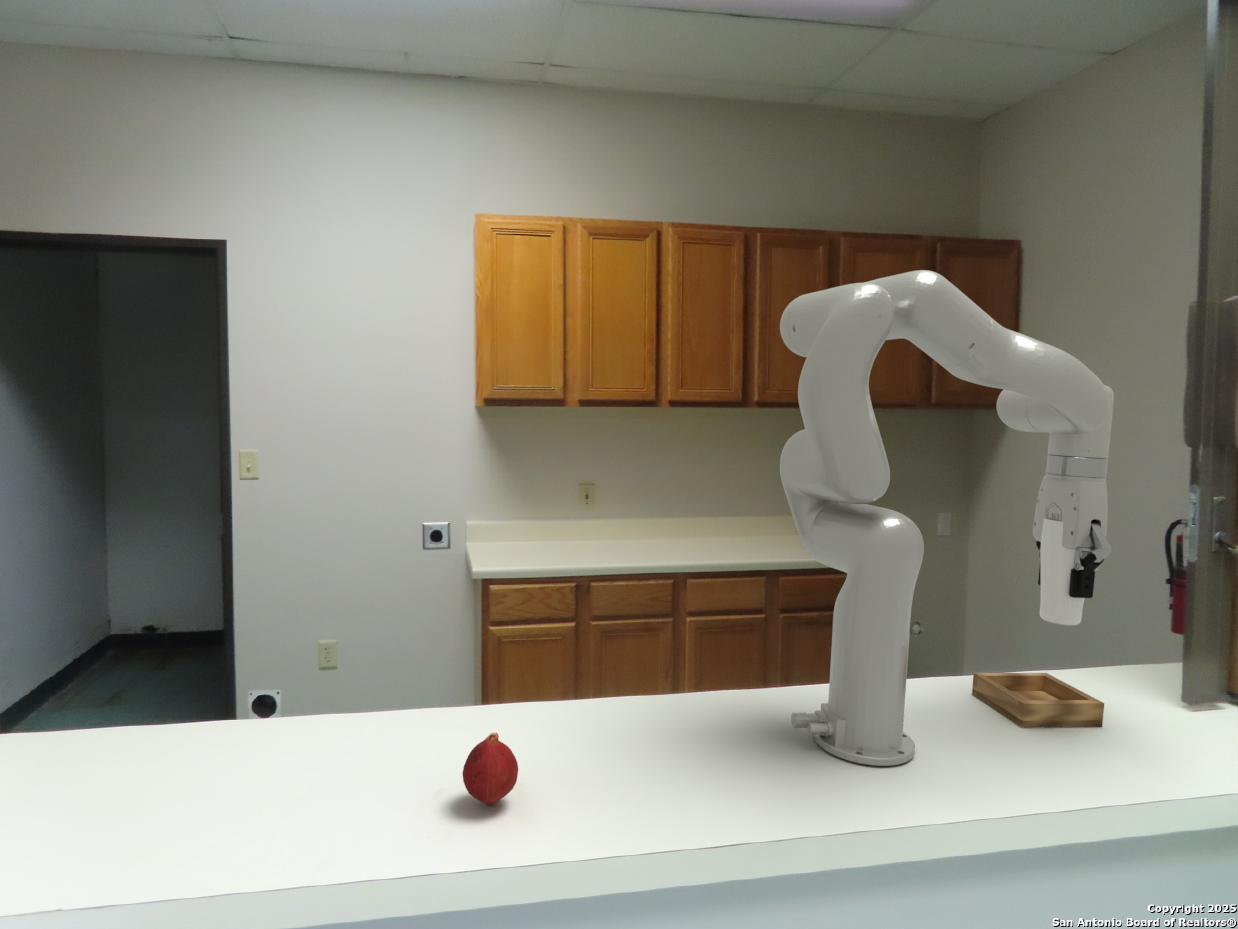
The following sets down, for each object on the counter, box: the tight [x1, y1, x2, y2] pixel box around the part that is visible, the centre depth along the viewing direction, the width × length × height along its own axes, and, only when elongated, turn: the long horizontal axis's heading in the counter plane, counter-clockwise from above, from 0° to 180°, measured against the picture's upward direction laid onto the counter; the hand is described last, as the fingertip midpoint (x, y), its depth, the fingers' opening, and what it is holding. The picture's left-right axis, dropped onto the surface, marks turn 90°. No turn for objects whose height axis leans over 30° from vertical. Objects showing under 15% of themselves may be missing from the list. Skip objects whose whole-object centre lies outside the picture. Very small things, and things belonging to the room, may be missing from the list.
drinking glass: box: [1039, 518, 1091, 626], centre depth 110 cm, size 7×7×15 cm
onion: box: [462, 731, 519, 806], centre depth 81 cm, size 6×6×8 cm
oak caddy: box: [971, 672, 1105, 729], centre depth 113 cm, size 12×12×4 cm
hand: (1064, 590), depth 110 cm, fingers closed on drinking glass, 6 cm apart
